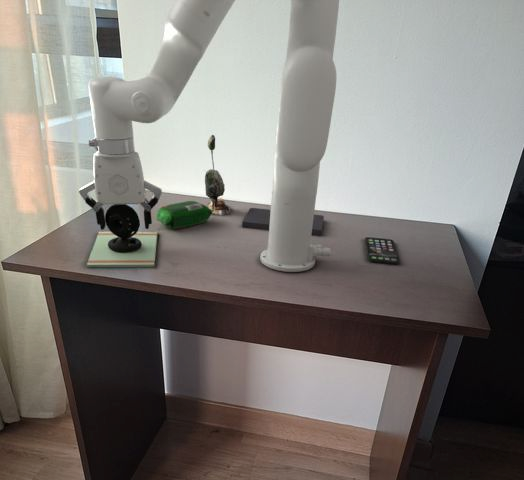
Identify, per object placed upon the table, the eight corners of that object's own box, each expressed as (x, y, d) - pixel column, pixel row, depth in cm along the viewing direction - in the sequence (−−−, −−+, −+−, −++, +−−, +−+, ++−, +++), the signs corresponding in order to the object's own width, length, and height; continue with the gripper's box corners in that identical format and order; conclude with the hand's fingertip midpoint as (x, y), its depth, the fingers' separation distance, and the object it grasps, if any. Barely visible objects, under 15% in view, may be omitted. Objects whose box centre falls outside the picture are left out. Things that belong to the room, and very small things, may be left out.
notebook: (241, 227, 129) (321, 235, 127) (242, 221, 128) (322, 230, 126) (249, 212, 140) (323, 220, 138) (250, 207, 139) (324, 215, 137)
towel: (157, 234, 121) (157, 231, 121) (154, 267, 104) (154, 264, 104) (99, 233, 119) (99, 231, 118) (86, 267, 102) (86, 264, 102)
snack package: (217, 222, 131) (217, 203, 128) (167, 233, 122) (166, 212, 119) (201, 215, 135) (201, 197, 132) (152, 225, 126) (151, 205, 123)
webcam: (101, 251, 109) (96, 206, 103) (115, 239, 115) (110, 197, 109) (135, 255, 108) (131, 210, 102) (147, 243, 114) (143, 200, 108)
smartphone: (368, 259, 114) (364, 236, 126) (368, 261, 114) (364, 239, 127) (400, 262, 114) (393, 239, 126) (399, 265, 114) (392, 242, 126)
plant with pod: (195, 215, 135) (194, 138, 124) (209, 204, 144) (210, 131, 133) (223, 219, 134) (224, 142, 123) (235, 207, 143) (238, 135, 132)
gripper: (68, 149, 95) (82, 233, 104) (158, 150, 97) (164, 232, 107) (75, 142, 101) (88, 222, 111) (159, 143, 104) (164, 221, 113)
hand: (125, 227), depth 109 cm, fingers open, 9 cm apart
